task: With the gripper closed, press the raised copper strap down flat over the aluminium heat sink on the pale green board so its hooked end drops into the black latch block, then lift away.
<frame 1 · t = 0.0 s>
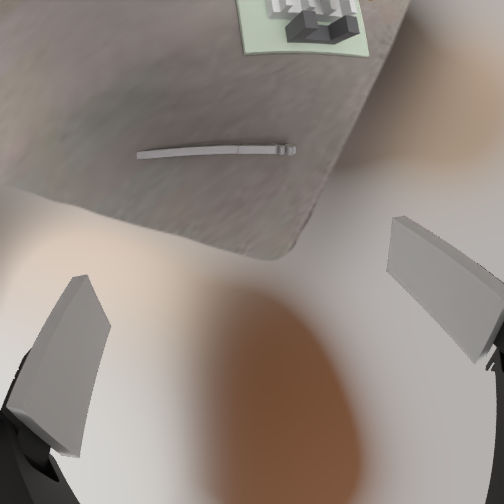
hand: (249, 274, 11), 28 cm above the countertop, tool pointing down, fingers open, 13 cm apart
caliper: (212, 148, 35), on the countertop
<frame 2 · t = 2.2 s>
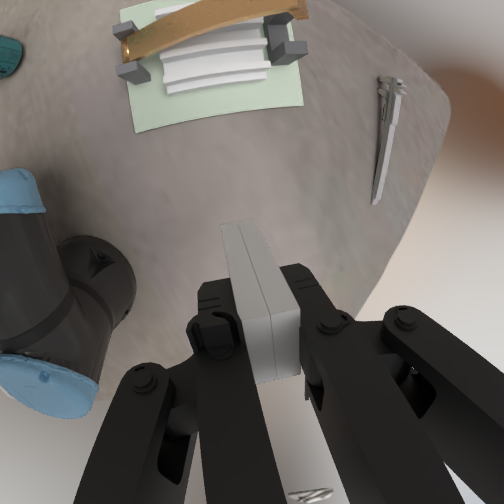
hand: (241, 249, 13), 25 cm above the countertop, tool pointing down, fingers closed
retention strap: (200, 22, 17), point 11 cm above the countertop, hinge at -35.0°
processor board: (209, 50, 28), on the countertop
caliper: (377, 141, 37), on the countertop
beverage bottle: (13, 60, 20), on the countertop
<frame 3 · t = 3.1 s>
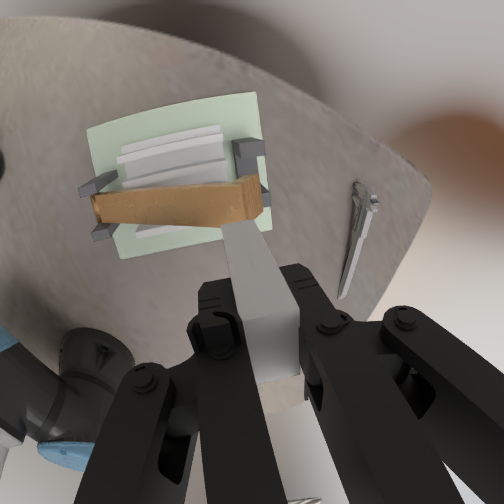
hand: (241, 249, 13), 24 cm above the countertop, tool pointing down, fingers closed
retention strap: (159, 201, 23), point 11 cm above the countertop, hinge at -35.0°
processor board: (180, 175, 33), on the countertop
caliper: (347, 244, 43), on the countertop
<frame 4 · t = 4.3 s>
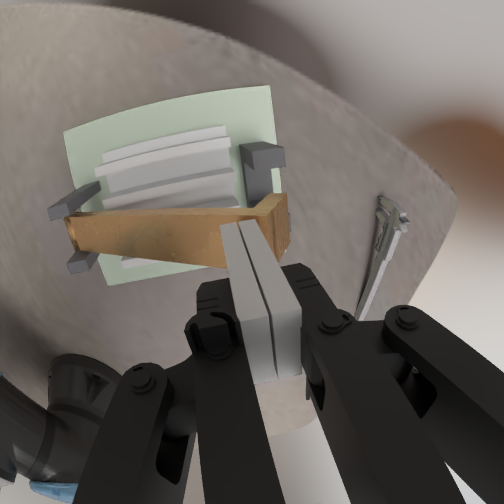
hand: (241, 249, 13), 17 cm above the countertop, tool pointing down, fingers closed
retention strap: (150, 226, 18), point 11 cm above the countertop, hinge at -32.0°, touching gripper
processor board: (176, 187, 28), on the countertop
caliper: (367, 265, 37), on the countertop
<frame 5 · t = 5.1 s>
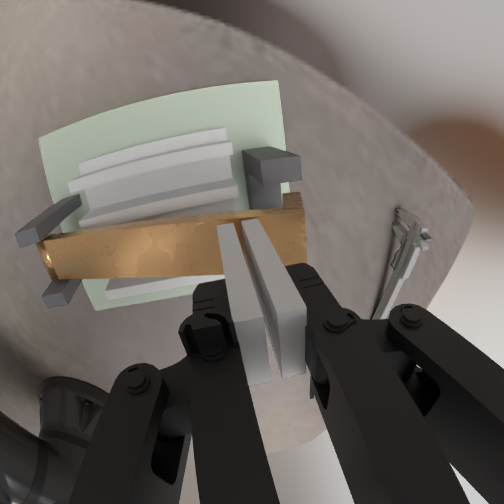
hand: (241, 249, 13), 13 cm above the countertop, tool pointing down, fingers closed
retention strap: (149, 241, 16), point 9 cm above the countertop, hinge at -16.5°, touching gripper
processor board: (168, 200, 24), on the countertop
caliper: (380, 282, 33), on the countertop
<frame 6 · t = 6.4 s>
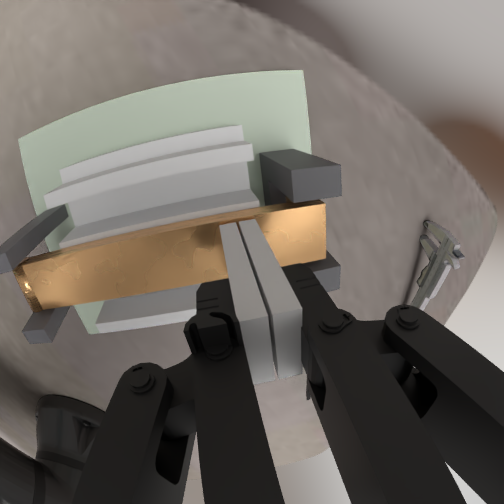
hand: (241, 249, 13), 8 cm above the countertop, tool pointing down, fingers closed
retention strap: (152, 250, 14), point 6 cm above the countertop, hinge at 0.0°, touching gripper
processor board: (169, 211, 20), on the countertop
caliper: (403, 299, 30), on the countertop
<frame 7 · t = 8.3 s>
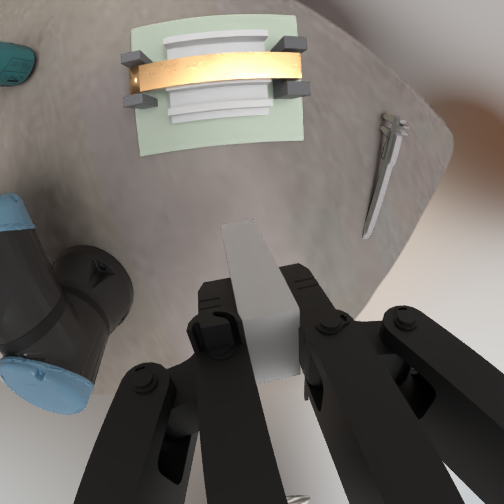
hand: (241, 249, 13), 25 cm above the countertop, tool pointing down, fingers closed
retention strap: (214, 69, 24), point 6 cm above the countertop, hinge at 0.0°
processor board: (216, 78, 30), on the countertop
caliper: (374, 177, 40), on the countertop
beverage bottle: (26, 67, 23), on the countertop
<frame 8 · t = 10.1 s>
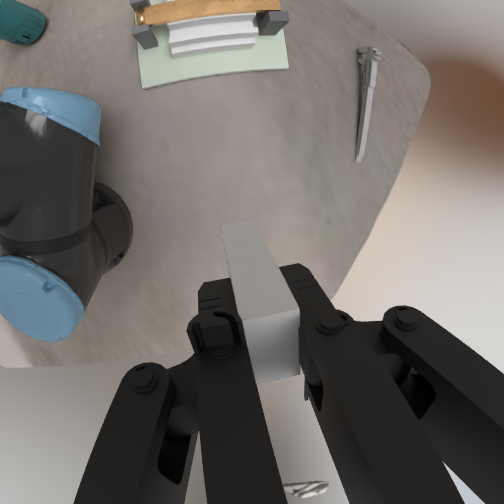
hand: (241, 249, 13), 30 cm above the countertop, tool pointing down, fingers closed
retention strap: (207, 8, 24), point 6 cm above the countertop, hinge at 0.0°
processor board: (208, 24, 30), on the countertop
caliper: (358, 104, 39), on the countertop
beverage bottle: (36, 31, 23), on the countertop
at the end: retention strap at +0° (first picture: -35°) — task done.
